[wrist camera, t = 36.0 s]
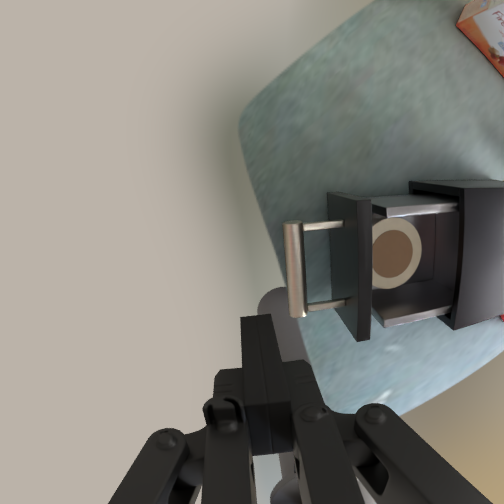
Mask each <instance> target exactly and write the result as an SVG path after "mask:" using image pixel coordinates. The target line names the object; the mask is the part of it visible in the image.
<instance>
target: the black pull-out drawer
mask: <svg viewBox="0 0 504 504" xmlns="http://www.w3.org/2000/svg"><path fill="white" fill-rule="evenodd" d="M327 200H328V216H329V220H327V221H317V222H307V223H302V221H299V220H292V221H286V222H283V223H282V225H283V237H284V249H285V262H286V275H287V288H288V303H289V315H290V316H291V317H294V318H301V317H304V316H306V315H307V314H308V312H310V311H317V310H324V309H330V308H334V309H335V310H336V312H337V313H338V315H339V316H340V318H341V319H342V321H343V322H344V324H345V325H346V327H347V328H348V329H349V331H350V332H351V334H352V335H353V337H354V338H355V340H356V341H357V342H360V341H365V340H370V330H371V314H372V315H373V316H374V317H375V319H376V320H377V321H378V322H379V323H380V324H381V325H382V326H383V328H387V327H391V326H396V325H401V324H405V323H410V322H414V321H418V320H423V319H427V318H431V317H435V316H439V315H443V314H447V313H451V312H452V305H453V298H454V289H455V280H456V269H457V257H458V239H459V197H455V196H450V195H444V194H439V193H430V194H411V195H394V196H378V197H364V198H363V197H359V196H355V195H351V194H346V193H342V192H327ZM374 213H375V214H378V215H381V216H384V217H387V218H390V217H399V218H402V219H404V220H406V221H408V222H410V223H411V224H412V225H413V226H414V227H415V229H416V230H417V232H418V234H419V236H420V240H421V245H422V252H421V258H420V262H419V265H418V267H417V269H416V271H415V272H414V274H413V275H412V276H411V277H410V278H409V279H408V280H407V281H406V282H405V283H403V284H402V285H400V286H397V287H395V288H391V289H382V288H378V287H375V286H373V285H372V280H373V236H372V214H374ZM322 229H329V233H330V255H331V288H332V300H327V301H320V302H313V303H307V286H306V268H305V251H304V236H303V231H312V230H322Z"/></svg>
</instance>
